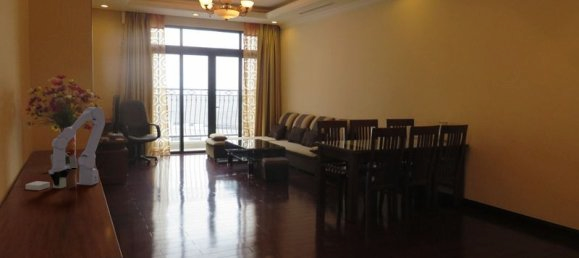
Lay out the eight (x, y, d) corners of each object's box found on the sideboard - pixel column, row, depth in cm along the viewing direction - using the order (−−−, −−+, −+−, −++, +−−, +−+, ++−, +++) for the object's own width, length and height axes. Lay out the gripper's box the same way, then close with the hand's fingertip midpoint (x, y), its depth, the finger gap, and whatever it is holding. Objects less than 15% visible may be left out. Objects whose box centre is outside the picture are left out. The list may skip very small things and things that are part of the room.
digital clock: (52, 172, 268) (51, 155, 267) (48, 169, 274) (48, 153, 273) (79, 169, 279) (79, 153, 278) (75, 167, 285) (75, 151, 284)
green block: (66, 186, 233) (66, 177, 233) (60, 188, 229) (60, 179, 229) (58, 185, 234) (58, 177, 234) (53, 187, 230) (52, 178, 229)
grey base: (49, 187, 231) (49, 182, 231) (39, 191, 223) (39, 185, 223) (36, 186, 232) (36, 181, 232) (25, 189, 224) (25, 184, 224)
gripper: (61, 157, 238) (61, 181, 239) (43, 161, 223) (43, 186, 225) (73, 158, 237) (73, 182, 238) (55, 162, 223) (55, 187, 224)
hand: (59, 184), depth 231 cm, fingers closed on green block, 4 cm apart
